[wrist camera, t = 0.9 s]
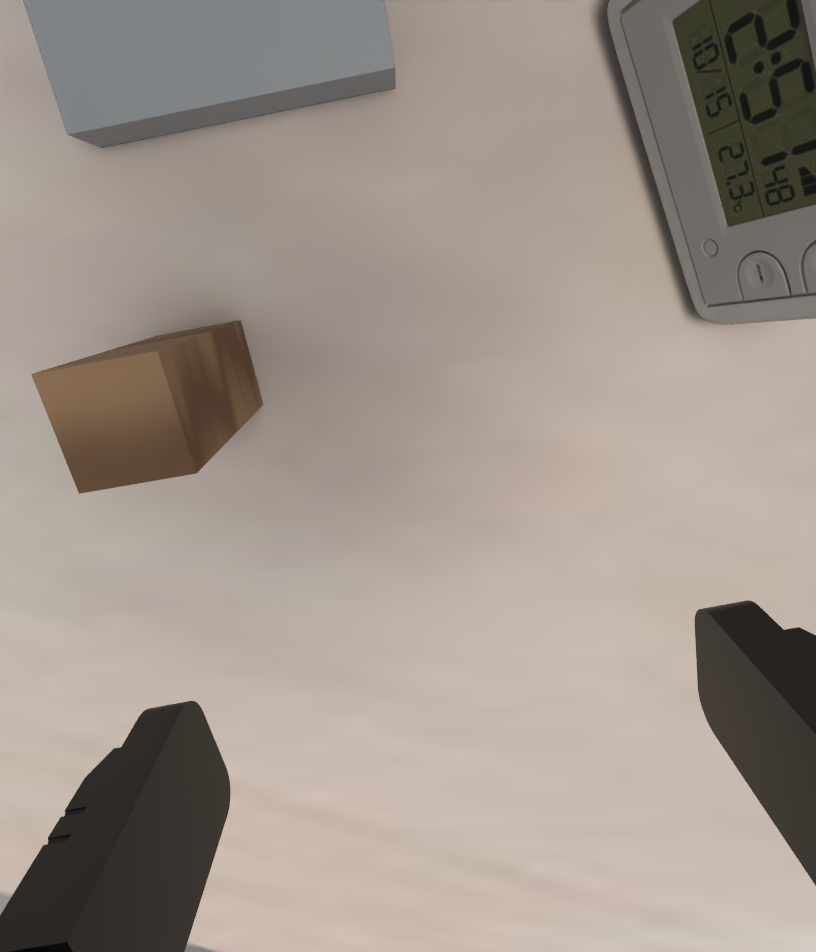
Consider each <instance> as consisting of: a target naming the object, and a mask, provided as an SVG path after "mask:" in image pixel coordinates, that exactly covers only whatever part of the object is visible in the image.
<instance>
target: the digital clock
mask: <svg viewBox="0 0 816 952" xmlns="http://www.w3.org/2000/svg"><path fill="white" fill-rule="evenodd" d="M607 17H608V23H609V28H610V32H611V35H612V39H613V43H614V46H615V50H616V53H617V57H618V60H619V63H620V67H621V70H622V74H623V77H624V80H625V84H626V87H627V90H628V93H629V97H630V100H631V103H632V107H633V110H634V113H635V116H636V120H637V123H638V126H639V130H640V133H641V136H642V139H643V143H644V146H645V149H646V153H647V156H648V159H649V162H650V166H651V169H652V172H653V176H654V179H655V182H656V185H657V189H658V192H659V195H660V198H661V202H662V205H663V208H664V212H665V215H666V218H667V221H668V225H669V228H670V231H671V235H672V238H673V241H674V244H675V248H676V251H677V254H678V258H679V261H680V264H681V267H682V271H683V274H684V277H685V280H686V283H687V286H688V289H689V292H690V295H691V298H692V301H693V304H694V307H695V309H696V311H697V313H698V314H699V315H700V316H701V317H702V318H704V319H706V320H708V321H711V322H714V323H717V324H743V323H757V322H771V321H784V320H798V319H812V318H816V0H609V3H608V7H607Z"/></svg>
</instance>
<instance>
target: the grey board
mask: <svg viewBox="0 0 816 952" xmlns="http://www.w3.org/2000/svg"><path fill="white" fill-rule="evenodd" d="M23 2H24V5H25V8H26V11H27V14H28V17H29V20H30V23H31V26H32V29H33V32H34V35H35V38H36V41H37V44H38V47H39V50H40V53H41V56H42V59H43V62H44V65H45V68H46V71H47V74H48V77H49V80H50V83H51V86H52V89H53V92H54V95H55V98H56V101H57V104H58V107H59V110H60V113H61V116H62V119H63V122H64V125H65V128H66V131H67V134H68V135H70V136H73V137H75V138H78V139H80V140H83V141H86V142H88V143H91V144H94V145H96V146H99V147H101V148H103V147H108V146H113V145H118V144H123V143H127V142H132V141H137V140H142V139H147V138H152V137H157V136H162V135H167V134H172V133H177V132H182V131H186V130H191V129H196V128H201V127H206V126H211V125H216V124H221V123H226V122H231V121H236V120H241V119H246V118H250V117H255V116H260V115H265V114H270V113H275V112H280V111H285V110H290V109H295V108H300V107H305V106H309V105H314V104H319V103H324V102H329V101H334V100H339V99H344V98H349V97H354V96H359V95H364V94H368V93H373V92H378V91H383V90H388V89H393V88H395V66H394V60H393V54H392V47H391V41H390V34H389V28H388V22H387V15H386V9H385V2H384V0H23Z"/></svg>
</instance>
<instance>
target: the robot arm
mask: <svg viewBox="0 0 816 952" xmlns="http://www.w3.org/2000/svg"><path fill="white" fill-rule="evenodd" d="M695 637H696V657H697V677H698V692H699V697H700V702H701V705H702V708H703V711H704V714H705V717H706V719H707V721H708V723H709V725H710V727H711V729H712V731H713V733H714V734H715V736H716V737H717V739H718V740H719V742H720V743H721V745H722V746H723V748H724V749H725V751H726V752H727V754H728V755H729V757H730V758H731V760H732V761H733V763H734V764H735V766H736V767H737V769H738V770H739V772H740V773H741V775H742V776H743V778H744V779H745V781H746V782H747V784H748V785H749V787H750V788H751V790H752V791H753V793H754V794H755V795H756V797H757V798H758V800H759V801H760V803H761V804H762V806H763V807H764V809H765V810H766V812H767V813H768V815H769V816H770V818H771V819H772V821H773V822H774V824H775V825H776V827H777V828H778V830H779V831H780V833H781V834H782V836H783V837H784V839H785V840H786V842H787V843H788V845H789V846H790V848H791V849H792V851H793V852H794V854H795V855H796V857H797V858H798V860H799V861H800V863H801V864H802V866H803V867H804V869H805V870H806V872H807V873H808V875H809V876H810V878H811V879H812V881H813V882H814V884H815V885H816V635H814V634H811V633H809V632H807V631H805V630H803V629H801V628H799V627H798V628H793V629H787V630H783V629H782V628H781V627H780V626H779V625H778V624H777V623H776V622H775V621H774V620H773V619H772V618H771V617H770V616H769V615H768V614H767V613H765V612H764V611H763V610H762V609H761V608H760V607H759V606H758V605H757V604H756V603H754V602H752V601H742V602H737V603H731V604H726V605H721V606H715V607H710V608H704V609H699V610H698V611H697V612H696V615H695ZM229 805H230V781H229V776H228V772H227V769H226V766H225V764H224V761H223V759H222V757H221V754H220V752H219V749H218V747H217V745H216V742H215V740H214V737H213V735H212V732H211V730H210V728H209V725H208V723H207V720H206V718H205V715H204V713H203V711H202V709H201V707H200V706H199V704H198V703H196V702H195V701H188V702H183V703H177V704H172V705H166V706H161V707H156V708H150V709H147V710H145V711H144V712H143V713H142V714H141V715H140V716H139V718H138V720H137V721H136V723H135V725H134V726H133V728H132V730H131V732H130V733H129V735H128V737H127V739H126V740H125V742H124V744H123V745H122V747H121V748H115V749H113V750H112V751H111V752H110V753H109V754H108V755H107V756H106V757H105V758H104V759H103V760H102V761H101V762H100V763H99V764H98V765H97V766H96V767H95V768H94V769H93V770H92V771H91V772H90V773H89V774H88V775H87V776H86V777H85V779H84V780H83V782H82V784H81V785H80V787H79V788H78V790H77V792H76V793H75V795H74V797H73V798H72V800H71V801H70V803H69V805H68V806H67V808H66V810H65V816H64V817H61V818H60V819H59V821H58V823H57V824H56V826H55V827H54V829H53V831H52V832H51V834H50V836H49V837H48V844H47V845H43V847H42V849H41V850H40V852H39V853H38V855H37V857H36V858H35V860H34V861H33V863H32V865H31V866H30V868H29V870H28V871H27V873H26V874H25V876H24V878H23V879H22V881H21V883H20V884H19V886H18V887H17V889H16V891H15V892H14V894H13V896H12V897H11V899H10V900H9V902H8V904H7V905H6V907H5V909H4V910H3V912H2V913H1V915H0V952H184V951H185V948H186V945H187V941H188V938H189V935H190V932H191V929H192V926H193V922H194V919H195V916H196V913H197V910H198V907H199V903H200V900H201V897H202V894H203V891H204V888H205V884H206V881H207V878H208V875H209V872H210V869H211V865H212V862H213V859H214V856H215V853H216V849H217V846H218V843H219V840H220V837H221V834H222V830H223V827H224V824H225V821H226V818H227V814H228V810H229Z"/></svg>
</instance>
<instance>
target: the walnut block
mask: <svg viewBox="0 0 816 952" xmlns="http://www.w3.org/2000/svg"><path fill="white" fill-rule="evenodd" d="M32 377H33V379H34V382H35V384H36V387H37V389H38V392H39V394H40V397H41V399H42V402H43V404H44V407H45V409H46V412H47V414H48V417H49V419H50V422H51V424H52V427H53V429H54V432H55V434H56V437H57V439H58V442H59V444H60V447H61V449H62V452H63V454H64V457H65V459H66V462H67V464H68V467H69V469H70V472H71V474H72V477H73V479H74V482H75V484H76V487H77V489H78V492H79V493H85V492H91V491H97V490H103V489H108V488H114V487H120V486H126V485H131V484H137V483H143V482H149V481H155V480H160V479H166V478H172V477H178V476H184V475H189V474H195V473H197V472H198V471H199V470H200V469H201V468H202V467H203V466H204V465H205V464H206V463H207V462H208V461H209V460H210V459H211V458H212V457H213V456H214V455H215V454H216V453H217V452H218V451H219V450H220V449H221V447H222V446H223V445H224V444H225V443H226V442H227V441H228V440H229V439H230V438H231V437H232V436H233V435H234V434H235V433H236V432H237V431H238V430H239V429H240V428H241V427H242V426H243V425H244V424H245V423H246V422H247V421H248V420H249V419H250V418H251V416H252V415H253V414H254V413H255V412H256V411H257V410H258V409H259V408H260V407H261V406H262V405H263V402H262V398H261V395H260V391H259V387H258V383H257V380H256V376H255V372H254V369H253V365H252V361H251V357H250V354H249V350H248V346H247V342H246V339H245V335H244V331H243V327H242V324H241V321H235V322H230V323H224V324H219V325H214V326H208V327H203V328H197V329H192V330H187V331H181V332H176V333H171V334H165V335H160V336H155V337H152V338H149V339H145V340H142V341H139V342H136V343H132V344H129V345H126V346H122V347H119V348H116V349H113V350H109V351H106V352H103V353H99V354H96V355H93V356H89V357H86V358H83V359H80V360H76V361H73V362H70V363H66V364H63V365H60V366H57V367H53V368H50V369H47V370H43V371H40V372H37V373H33V374H32Z"/></svg>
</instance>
